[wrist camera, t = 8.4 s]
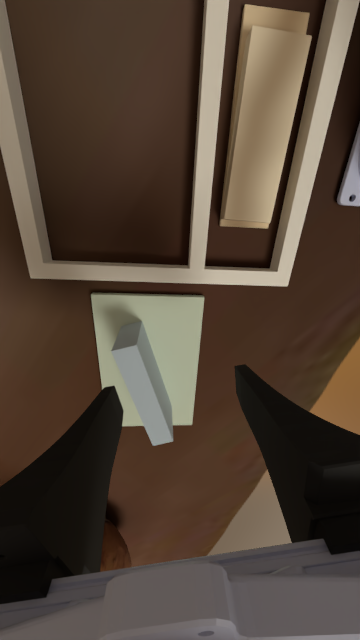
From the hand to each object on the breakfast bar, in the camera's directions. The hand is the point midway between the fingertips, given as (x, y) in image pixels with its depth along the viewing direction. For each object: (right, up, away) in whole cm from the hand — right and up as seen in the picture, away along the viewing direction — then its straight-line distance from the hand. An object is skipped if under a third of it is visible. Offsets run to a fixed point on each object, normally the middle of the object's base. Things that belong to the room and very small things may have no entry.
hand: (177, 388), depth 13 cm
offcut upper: (+6, +17, +3) cm, 18 cm away
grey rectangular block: (-3, -1, +10) cm, 10 cm away
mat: (-3, -1, +10) cm, 11 cm away
